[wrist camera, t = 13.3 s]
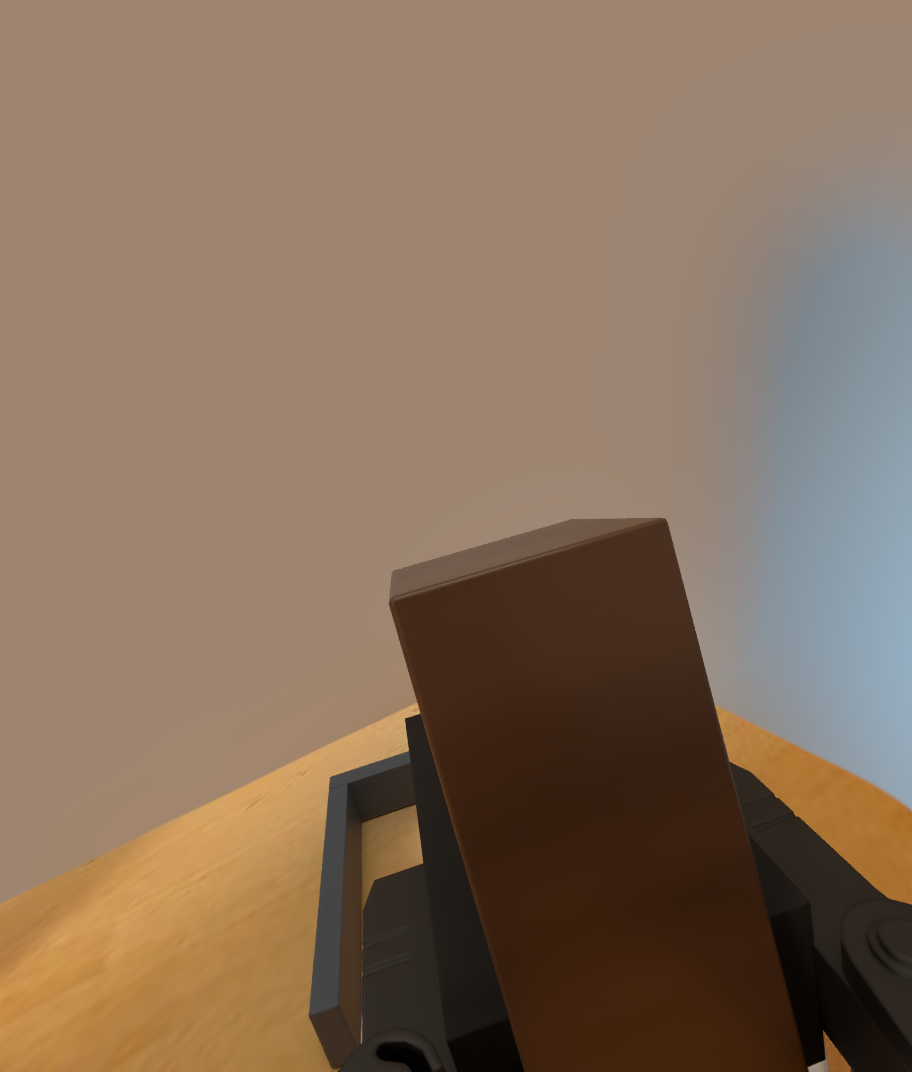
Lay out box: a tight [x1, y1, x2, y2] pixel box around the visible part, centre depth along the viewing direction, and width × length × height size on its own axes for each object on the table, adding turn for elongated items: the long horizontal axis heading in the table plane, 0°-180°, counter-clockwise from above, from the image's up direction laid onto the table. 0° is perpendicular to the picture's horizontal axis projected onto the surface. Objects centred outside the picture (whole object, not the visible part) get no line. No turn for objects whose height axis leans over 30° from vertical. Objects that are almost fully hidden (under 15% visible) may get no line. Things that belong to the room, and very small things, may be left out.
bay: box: [309, 751, 416, 1069], centre depth 24 cm, size 12×16×2 cm
